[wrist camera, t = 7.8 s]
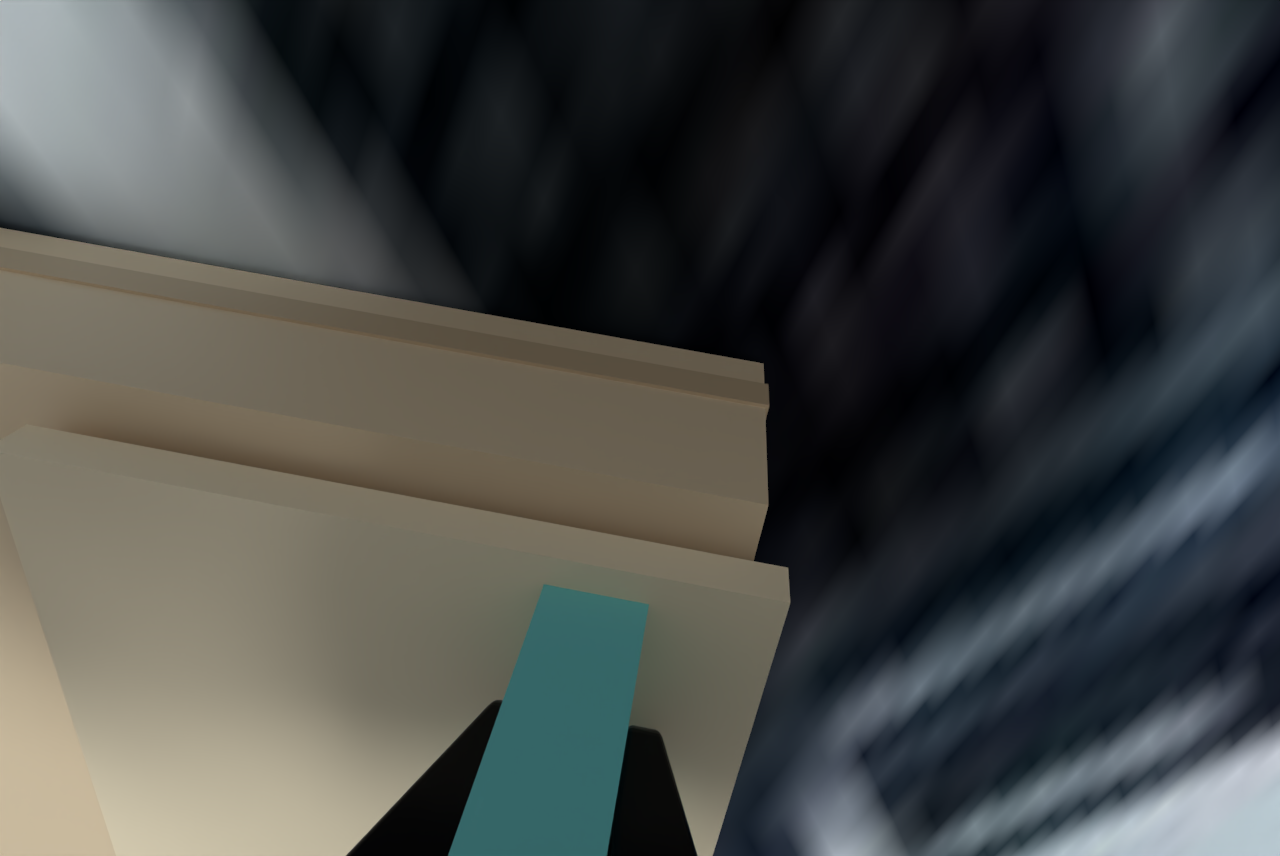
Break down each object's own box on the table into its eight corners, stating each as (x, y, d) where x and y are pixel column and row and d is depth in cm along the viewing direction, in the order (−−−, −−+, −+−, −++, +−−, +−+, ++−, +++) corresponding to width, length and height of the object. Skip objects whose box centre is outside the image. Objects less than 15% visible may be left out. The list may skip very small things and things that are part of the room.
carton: (767, 361, 12) (773, 502, 9) (633, 920, 20) (608, 1110, 17) (-409, 151, 13) (-820, 206, 10) (-99, 767, 21) (-266, 919, 18)
